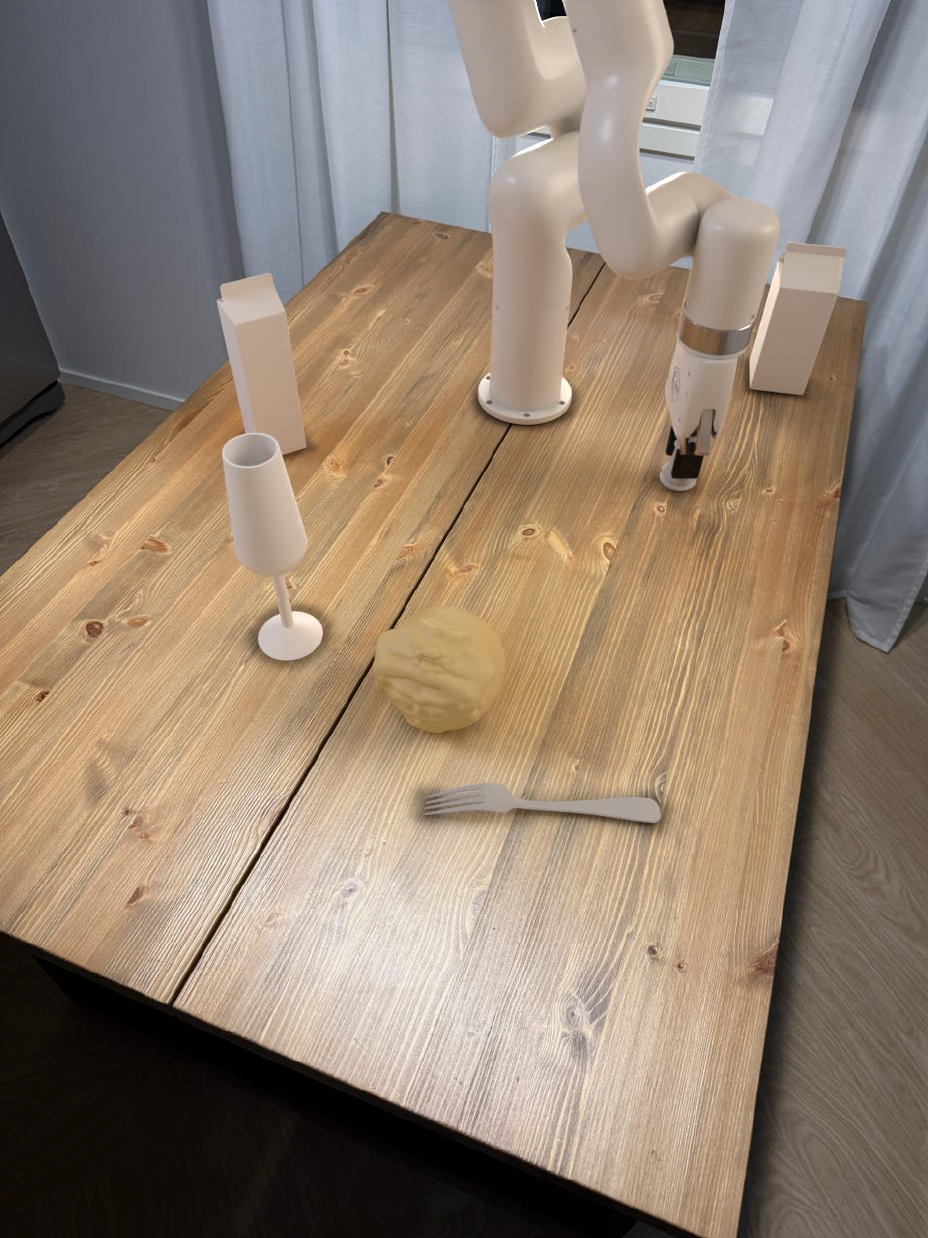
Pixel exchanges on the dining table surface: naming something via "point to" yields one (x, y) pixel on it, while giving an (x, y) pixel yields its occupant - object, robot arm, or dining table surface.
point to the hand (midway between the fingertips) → (681, 464)
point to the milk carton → (795, 317)
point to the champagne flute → (269, 536)
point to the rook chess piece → (666, 469)
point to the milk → (262, 360)
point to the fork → (547, 804)
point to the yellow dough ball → (440, 668)
